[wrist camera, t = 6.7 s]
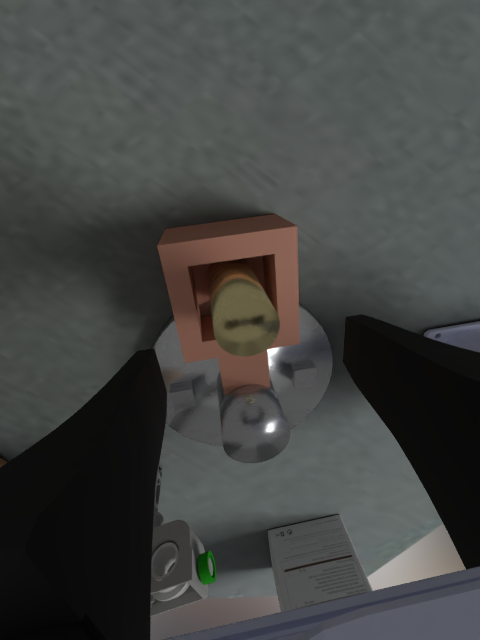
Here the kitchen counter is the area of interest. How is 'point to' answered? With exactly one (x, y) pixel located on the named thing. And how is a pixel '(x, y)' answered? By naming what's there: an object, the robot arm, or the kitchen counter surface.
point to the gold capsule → (240, 309)
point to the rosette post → (245, 393)
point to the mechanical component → (177, 563)
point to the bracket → (192, 288)
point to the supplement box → (315, 563)
